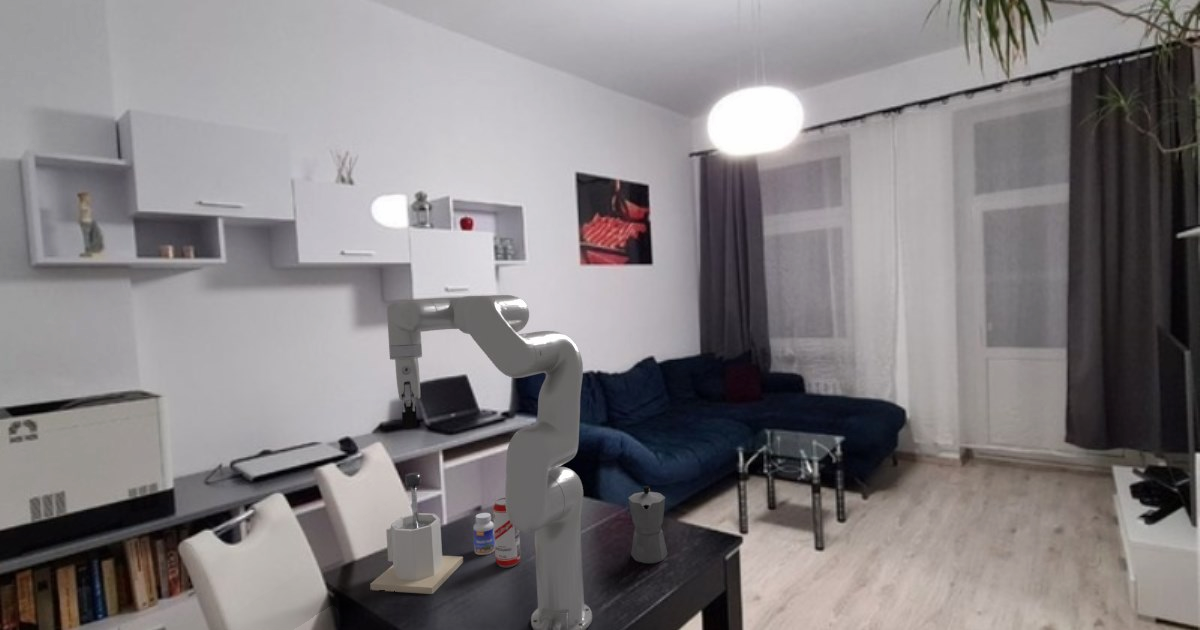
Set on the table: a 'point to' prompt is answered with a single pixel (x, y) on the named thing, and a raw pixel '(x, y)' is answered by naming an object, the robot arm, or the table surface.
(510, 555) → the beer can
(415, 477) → the plunger
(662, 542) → the coffeepot
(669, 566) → the table surface
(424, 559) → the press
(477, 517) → the pill bottle
